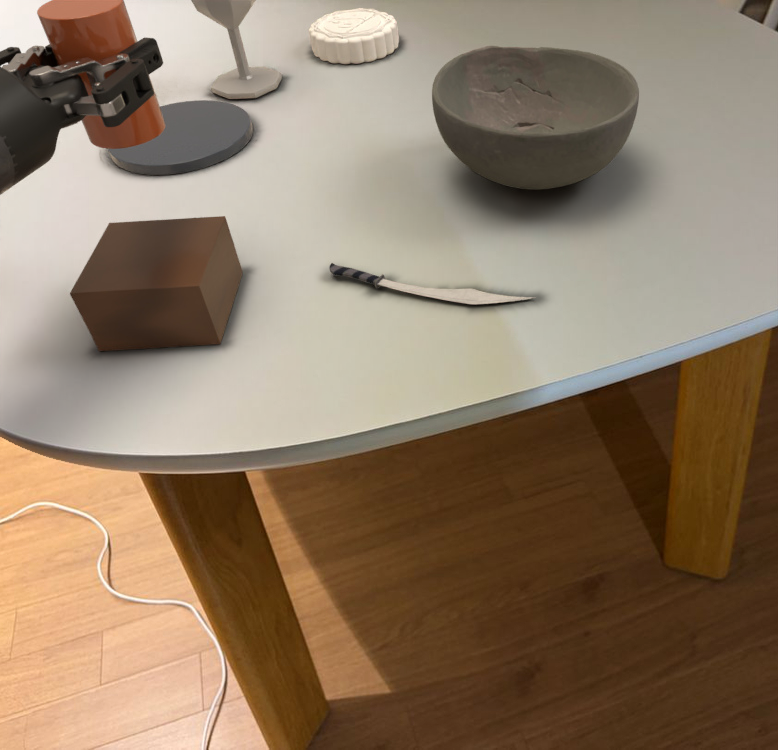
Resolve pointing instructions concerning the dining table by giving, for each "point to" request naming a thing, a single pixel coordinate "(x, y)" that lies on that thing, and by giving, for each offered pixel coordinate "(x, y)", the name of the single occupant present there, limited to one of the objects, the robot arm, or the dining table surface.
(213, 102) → the plate
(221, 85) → the wineglass
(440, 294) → the knife
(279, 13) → the dining table surface
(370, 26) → the mooncake
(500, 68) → the bowl
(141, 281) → the stand
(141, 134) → the orange cylinder
